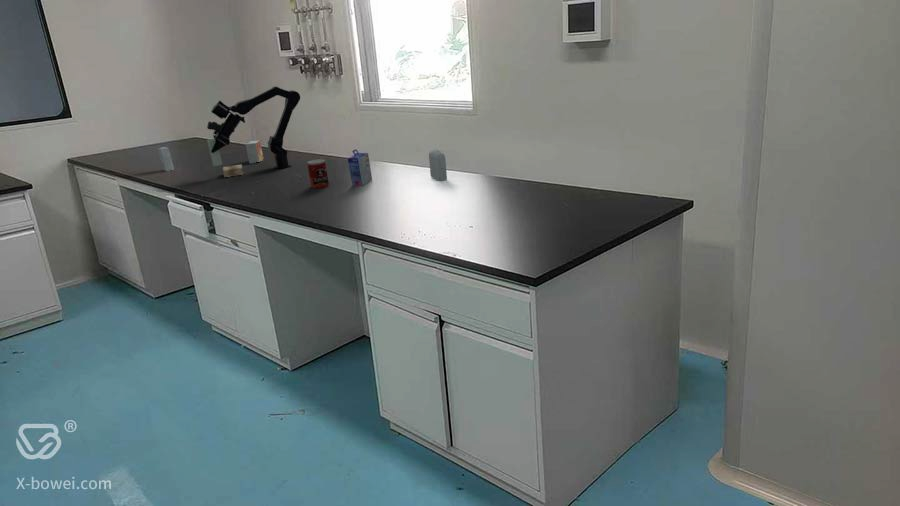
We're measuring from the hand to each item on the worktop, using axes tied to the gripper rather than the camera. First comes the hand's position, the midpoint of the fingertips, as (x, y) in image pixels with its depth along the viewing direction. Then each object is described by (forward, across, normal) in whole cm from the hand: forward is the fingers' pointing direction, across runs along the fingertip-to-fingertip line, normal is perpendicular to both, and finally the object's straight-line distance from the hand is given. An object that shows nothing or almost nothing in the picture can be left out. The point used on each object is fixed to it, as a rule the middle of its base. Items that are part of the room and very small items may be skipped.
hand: (211, 151), depth 302 cm
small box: (-6, -27, +26) cm, 37 cm away
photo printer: (-49, +78, +70) cm, 116 cm away
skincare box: (+24, -43, -6) cm, 50 cm away
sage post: (+4, 0, +6) cm, 7 cm away
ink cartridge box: (-29, +62, +49) cm, 84 cm away
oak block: (+4, -2, +15) cm, 16 cm away
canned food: (-17, +53, +37) cm, 67 cm away
